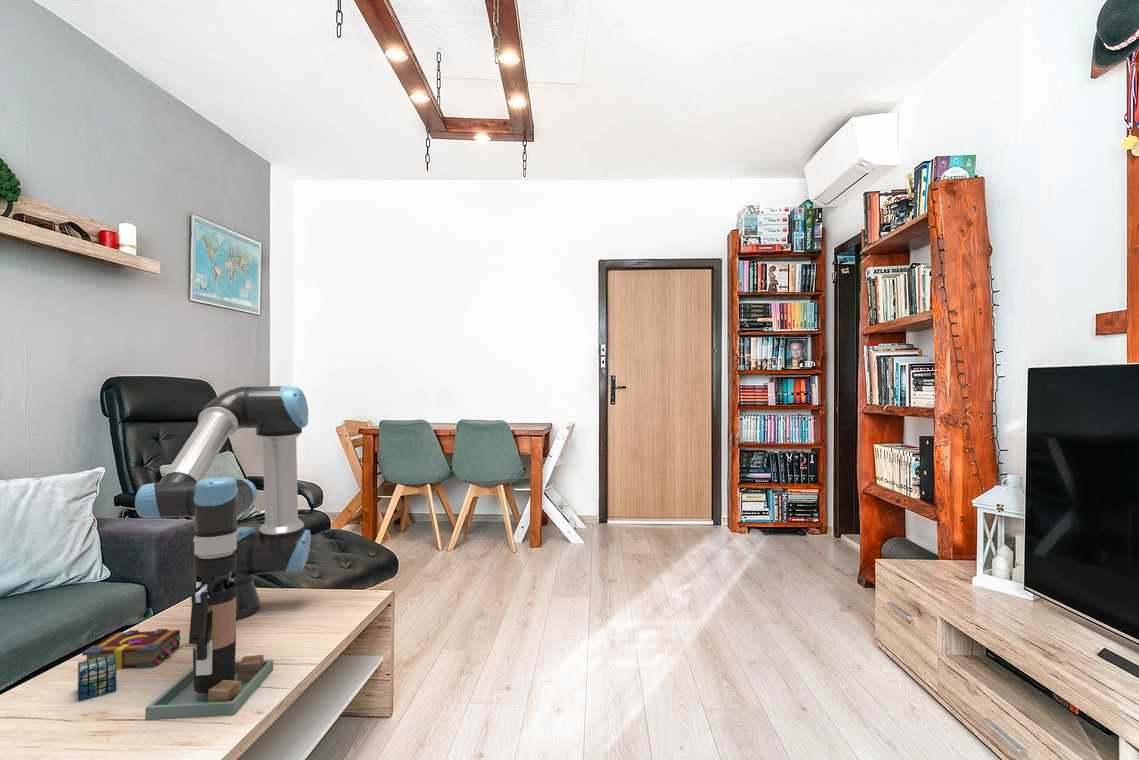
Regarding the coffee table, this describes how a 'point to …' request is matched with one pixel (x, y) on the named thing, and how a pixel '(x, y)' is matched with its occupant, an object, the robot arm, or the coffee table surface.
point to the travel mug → (219, 639)
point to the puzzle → (96, 677)
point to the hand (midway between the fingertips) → (214, 664)
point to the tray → (201, 698)
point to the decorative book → (136, 647)
